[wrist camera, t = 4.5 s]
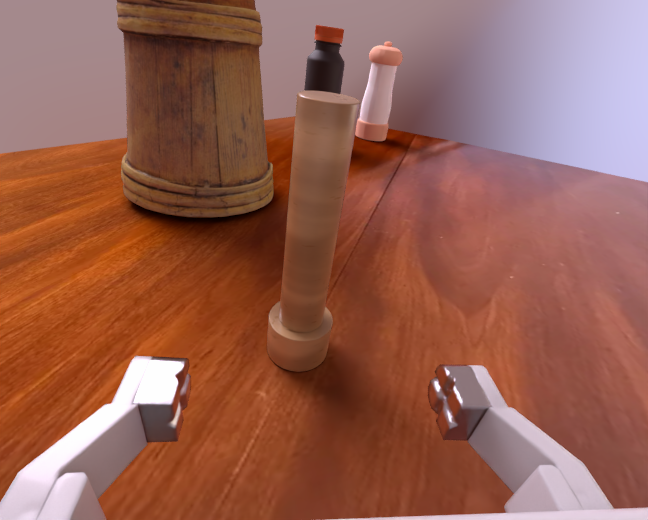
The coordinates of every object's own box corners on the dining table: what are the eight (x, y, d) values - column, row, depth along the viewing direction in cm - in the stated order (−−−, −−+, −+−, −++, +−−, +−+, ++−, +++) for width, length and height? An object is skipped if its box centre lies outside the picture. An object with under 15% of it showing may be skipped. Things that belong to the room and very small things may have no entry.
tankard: (97, 217, 38) (18, -115, 24) (162, 151, 57) (139, -53, 44) (270, 229, 40) (286, -64, 27) (276, 162, 60) (287, -27, 46)
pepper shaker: (353, 131, 86) (368, 38, 76) (382, 134, 87) (402, 43, 76) (356, 139, 80) (374, 39, 70) (388, 143, 81) (410, 45, 70)
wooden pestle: (309, 382, 24) (354, 111, 14) (254, 354, 25) (263, 91, 16) (336, 341, 27) (387, 101, 18) (287, 318, 28) (310, 85, 19)
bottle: (336, 142, 75) (352, 30, 64) (328, 150, 69) (344, 29, 58) (305, 136, 76) (317, 25, 65) (295, 143, 70) (305, 23, 59)
